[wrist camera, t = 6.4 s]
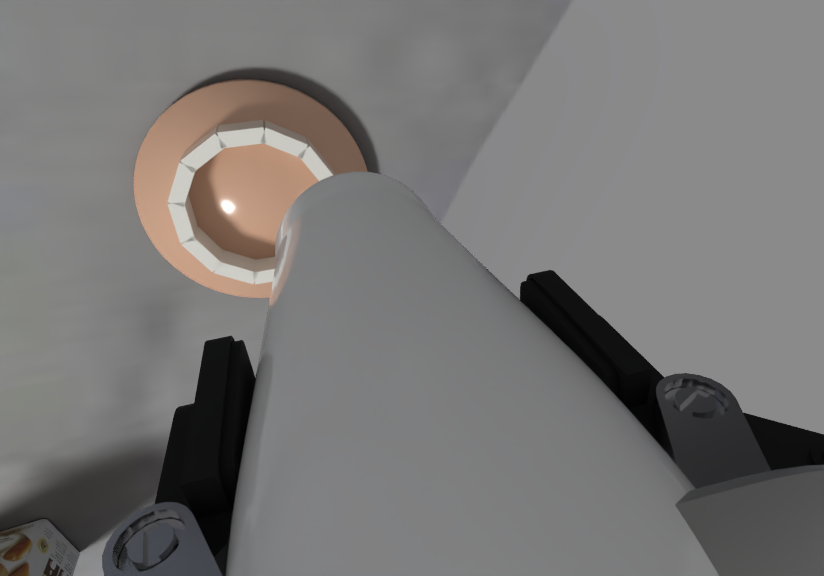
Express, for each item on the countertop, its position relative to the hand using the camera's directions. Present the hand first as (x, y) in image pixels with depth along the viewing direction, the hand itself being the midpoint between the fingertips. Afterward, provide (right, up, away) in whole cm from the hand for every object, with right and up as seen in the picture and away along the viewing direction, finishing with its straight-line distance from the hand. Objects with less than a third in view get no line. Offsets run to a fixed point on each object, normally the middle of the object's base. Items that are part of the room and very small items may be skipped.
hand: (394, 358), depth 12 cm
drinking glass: (-2, +3, +6) cm, 7 cm away
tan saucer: (-11, +8, +26) cm, 29 cm away
